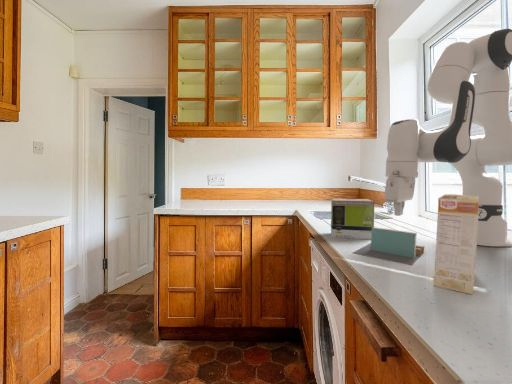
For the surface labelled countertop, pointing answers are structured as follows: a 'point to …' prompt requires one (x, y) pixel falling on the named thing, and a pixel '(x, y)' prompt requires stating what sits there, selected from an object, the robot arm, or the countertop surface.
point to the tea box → (352, 218)
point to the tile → (393, 241)
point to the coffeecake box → (456, 242)
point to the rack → (419, 250)
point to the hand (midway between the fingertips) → (398, 215)
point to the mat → (385, 255)
